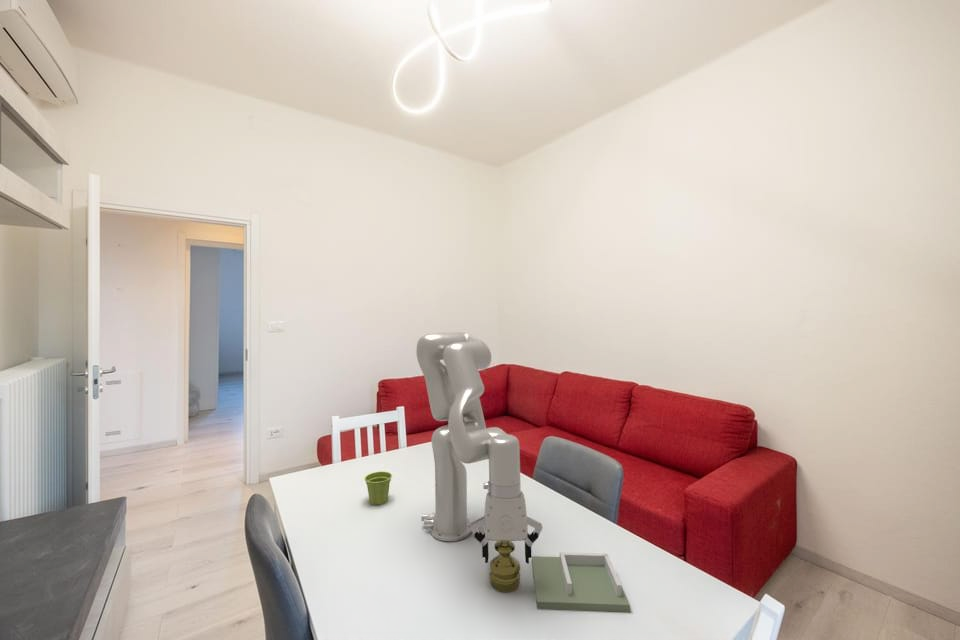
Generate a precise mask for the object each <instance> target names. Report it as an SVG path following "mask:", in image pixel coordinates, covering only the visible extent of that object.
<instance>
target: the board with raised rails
mask: <svg viewBox="0 0 960 640" xmlns="http://www.w3.org/2000/svg"><path fill="white" fill-rule="evenodd" d="M531 568H532V577H533V585H534V593H535V603H536V609H538V610H539V609H541V610H542V609H545V610H570V611H572V610H573V611H574V610H575V611H594V612H595V611H597V612H600V611H601V612H621V613H623V612H624V613H630V612H631V603H630V602H629V600H628V597H627V595H626V593H625V591H624V589H623V586H622V583H621V581H620V578H619V576H618V574H617V572H616V569H615V567H614V565H613V562H612V560H611V558H610V556H609V554H608V553H605V552H603V553H600V552H567V551H566V552H561V551H560V552H559V556H534V555H533V556H532V555H531Z"/></svg>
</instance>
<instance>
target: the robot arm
mask: <svg viewBox="0 0 960 640" xmlns="http://www.w3.org/2000/svg"><path fill="white" fill-rule="evenodd" d="M490 350H491V349H490V348H489V346H488V345H487V344H486V343H485V342H484V341H483V340H481V339H480V338H477V337H475V336H473V335H472V334H469V333H466V332H436V333H435V332H434V333H427V334H425V335H423V336H421V337H420V338H418V341H417V343H416V350H415V351H416V352H415V353H416V358H417V363H418V365H419V367H420V370H421V372H422V374H423V375H422V376H423V377H424V380H425V385H426V391H427V397H428V401H429V406H430V412H431V415H432V417H433V419H434V420H436V421H438V422H446V421H447V422H448V424H446V425H442V426H439V427H438V428H436V429H435V430H434V432H433V433H432V435H431V448H432V454H433V459H434V461H433V462H434V481H435V482H434V486H435V487H434V489H435V493H434V496H435V499H434V500H435V502H434V503H435V512H433V513H432V514H428V513H422V514H421V517H420V518H421V522H423V525H424V526H429V525H430V529H429V530H430V534H431V535H432V537H433V538H435V539H436V540H439V541H442V542H458V541H460V540H463V539H466V538H468V537H469V536H470V535H471V533H472V534H473V536H474V538H475V540H476V541H478V542H479V544H480V546H481V553H482V554H481V555H482V556H481V558H484V563H485V564H488V563H489V558H490V557H489V555H490V553H489V541H495V542H497V541H512V542H516V541H517V542H518V541H519V542H521V541H524V557H525V558H524V559H525V564H527V565H529V564H530V559H532V546H533V544H534V543H535V542H536V541H537V540H538V539H539V536H540V534H541V532H542V531H543V525H542V522H539V521H537V520H536V519H534V518H531V517H529V516H528V514H527V512H528V511H527V503H526V498H525V495H524V493H523V491H522V489H521V486H522V485H521V458H520V457H521V454H520V441H519V439H518V437H516V436H515V435H513V434H509V433H507V432H506V431H504V430H503V429H502V428H500V427H498V426H494V427H493V426H492V427H487V426H486V421H485V417H484V413H483V412H484V411H483V407H482V404H481V403H482V402H481V399H480V397H481V396H482V395H483V394H484V392H485V385H484V383H483V380H482V378H481V374H480V372H479V370H484V369H487V368H488V367H489V366H490V365H491V363H492V353H491V351H490ZM441 361H443V362H441ZM486 460H488V481H487V482H483V485H482V486H483V490H488V491H487V493H486V495H485V503H484V515H483V516H482V517H479V518H478V519H476V520H474V521H472V522H471V521H470V520H469V519H468V490H467V488H468V482H467V481H468V476H467V474H468V473H467V468H466V467H465V465H464V464H468V465H469V464H474V463H479V462H481V461H486ZM463 463H464V464H463ZM483 525H484V532H483V533H482V532H481V530H479V528H480V527H482V526H483ZM528 526H530V527H532V528H533V529H534V530H533V531H532V532H531V533H529V531H528Z"/></svg>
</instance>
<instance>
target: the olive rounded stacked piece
mask: <svg viewBox="0 0 960 640" xmlns="http://www.w3.org/2000/svg"><path fill="white" fill-rule="evenodd" d="M515 549H516V545H515V543H514V541H495V543H494V550H495V551H496V552H497V553H499V554H498V555H496V556H495V557H493V558H492V559H491V560H490V562H489V582H490V586H491V588H493V589H494V590H496V591H498V592H501V593H510V592H514V591H516V590H518V588H519V587H520V585H521V564H520V561H519V560H518V559H517V558H516V557H514V556H513V555H511V554H512V553H513V552H514V551H515Z"/></svg>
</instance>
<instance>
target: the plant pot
mask: <svg viewBox="0 0 960 640" xmlns="http://www.w3.org/2000/svg"><path fill="white" fill-rule="evenodd" d="M392 478H393V474H392V473H391V472H388V471H375V472H371V473H368V474H367V475H365V477H364V481H365V484H366V487H367V493H368V500H369V504H370V505H373V506H378V505H384V504H386V503H387V502H388V499H389V492H390V485H391V484H390V483H391V482H392V481H391V479H392Z"/></svg>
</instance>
